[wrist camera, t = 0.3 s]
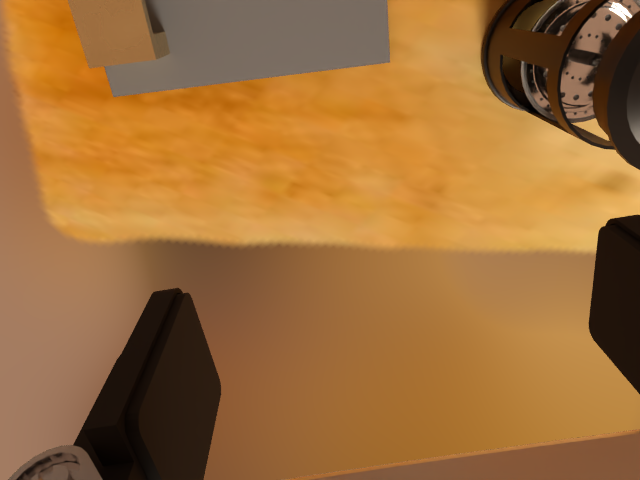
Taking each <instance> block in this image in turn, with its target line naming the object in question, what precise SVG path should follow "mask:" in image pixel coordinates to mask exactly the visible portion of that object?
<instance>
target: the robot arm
mask: <svg viewBox="0 0 640 480" xmlns="http://www.w3.org/2000/svg"><path fill="white" fill-rule="evenodd" d="M589 330H590V333H591V336H592V338H593V339H594V341H595V342H596V343H597V344H598V346H599V347H600V348H601V349H602V350H603V351H604V353H605V354H606V355H607V356H608V357H609V359H611V361H612V362H613V363H614V364H615V366H616V367H617V368H618V369H619V370H620V371H621V373H622V374H623V375H624V376H625V377H626V378H627V380H628V381H629V382H630V383H631V384H632V385H633V387H634V388H635V389H636V390H637V392H638V393H639V394H640V215H632V216H626V217H620V218H613V219H610V220H609V221H608V222H607V223H606V226H604V227H602V228H601V229H600V230H599V234H598V243H597V252H596V261H595V271H594V281H593V290H592V298H591V307H590V317H589ZM220 396H221V385H220V379H219V376H218V373H217V371H216V368H215V365H214V362H213V359H212V356H211V353H210V350H209V347H208V344H207V341H206V338H205V335H204V332H203V330H202V327H201V324H200V321H199V318H198V315H197V312H196V309H195V306H194V303H193V300H192V298H191V296H190V294H189V293H183V292H182V291H181V290H180V289H179V288H175V289H168V290H162V291H156V292H153V294H152V295H151V297H150V299H149V301H148V303H147V305H146V307H145V309H144V311H143V313H142V315H141V317H140V319H139V321H138V322H137V325H136V326H135V328H134V330H133V332H132V334H131V336H130V338H129V340H128V342H127V344H126V346H125V348H124V350H123V352H122V354H121V355H120V356H119V358H118V359H117V361H116V363H115V365H114V367H113V369H112V370H111V373H110V374H109V376H108V378H107V380H106V382H105V384H104V386H103V388H102V390H101V392H100V394H99V396H98V398H97V400H96V402H95V404H94V406H93V408H92V409H91V411H90V413H89V415H88V417H87V419H86V421H85V423H84V425H83V427H82V429H81V431H80V433H79V435H78V437H77V439H76V441H75V443H74V445H66V446H59V447H56V448H52V449H49V450H47V451H45V452H43V453H41V454H39V455H37V456H35V457H33V458H32V459H31V460H30V461H28V462H27V463H25V464H24V465H22V466H21V467H20V468H19V469H18V470H17V471H16V472H15V473H14V474H13V475H12V476H11V477H10V478H9V479H8V480H203V478H204V474H205V469H206V464H207V459H208V455H209V450H210V445H211V440H212V435H213V430H214V425H215V421H216V416H217V411H218V406H219V401H220ZM282 480H640V429H638V430H632V431H623V432H616V433H609V434H601V435H593V436H586V437H579V438H572V439H564V440H556V441H549V442H543V443H535V444H527V445H520V446H513V447H506V448H498V449H492V450H484V451H477V452H470V453H463V454H456V455H448V456H441V457H435V458H427V459H420V460H413V461H406V462H399V463H392V464H385V465H378V466H372V467H364V468H357V469H351V470H344V471H337V472H330V473H324V474H316V475H309V476H303V477H296V478H289V479H282Z"/></svg>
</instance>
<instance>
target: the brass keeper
mask: <svg viewBox="0 0 640 480" xmlns="http://www.w3.org/2000/svg"><path fill="white" fill-rule="evenodd" d="M68 2H69V6H70V9H71V12H72V15H73V18H74V21H75V25H76V28H77V31H78V34H79V37H80V40H81V44H82V47H83V50H84V53H85V56H86V59H87V63H88V66H89V68H95V67H103V66H111V65H119V64H127V63H135V62H143V61H151V60H157V59H159V58H161V57H164V56H166V55H168V54H170V51H169V46H168V42H167V38H166V34H165V32H157V33H153V31H152V27H151V23H150V19H149V15H148V11H147V7H146V3H145V0H68Z"/></svg>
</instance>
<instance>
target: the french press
mask: <svg viewBox="0 0 640 480" xmlns="http://www.w3.org/2000/svg"><path fill="white" fill-rule="evenodd" d="M540 1H543V0H507V1H506V2H505V3H504V5H503V6H502V7H501V8H500V9H499V11H498V12H497V13H496V15H495V17H494V18H493V20H492V22H491V23H490V25H489V28H488V30H487V33H486V35H485V39H484V43H483V48H482V67H483V73H484V77H485V79H486V82H487V84H488V86H489V88H490V89H491V91H492V92H493V94H494V95H495V96H496V97H497V98H498V99H499V100H500V101H502V102H503V103H505V104H507V105H508V106H510V107H512V108H515V109H519V110H522V111H526V112H528V113H530V114H532V115H534V116H536V117H538V118H540V119H542V120H544V121H546V122H548V123H550V124H552V125H554V126H556V127H557V128H559V129H561V130H563V131H565V132H567V133H569V134H571V135H573V136H575V137H577V138H579V139H581V140H583V141H585V142H587V143H588V144H590V145H593V146H596V147H600V148H603V149H614V150H616V152H617V153H618V154H619V155H620V156H621V157H622V158H623V159H624V160H625V161H626V162H627V163H629V164H630V165H632V166H634V167H636V168H637V169H639V170H640V0H559V1H557V2H556V3H555V4H554V5H553V6H551V7H550V8H549V9H548V10H547V11H546V12H545V13H544V14H543V15H542V16H541V17H540V19H539V20H538V21H537V22H536V24H535V25H534V26H533V28H532V29H531V31H526V30H520V29H513V28H512V27H513V25H514V24H515V22H516V20H517V19H518V17H519V16H520V15H521V14H522V12H523V11H524V10H526V9H527V8H528V7H530V6H532V5H533V4H535V3H537V2H540ZM503 56H507V57H510V58H513V59H517V60H520V73H521V79H522V84H523V88H524V91H525V93H526V94H525V93H521V92H520V91H518V90H516V89H515V88H514V87H513V86H512V85H511V84H510V83H509V82H508V80H507V79H506V77H505V75H504V72H503V68H502V64H503ZM594 118H596V119H597V121H598V124H599V126H600V127H601V128H602V129H603V130H604V132H605V133H606V134H607V135H608V137H609V140H610V141H607V140H605V139H603V138H600V137H598V136H596V135H594V134H592V133H590V132H588V131H586V130H584V129H582V128H579V127H577V126H575V125H573V124H571V123H576V122H584V121H587V120H591V119H594Z"/></svg>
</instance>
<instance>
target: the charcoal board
mask: <svg viewBox="0 0 640 480" xmlns="http://www.w3.org/2000/svg"><path fill="white" fill-rule="evenodd" d="M145 3H146V7H147V11H148V15H149V19H150V23H151V27H152V31H153V33H157V32H165V34H166V38H167V42H168V46H169V51H170V54H168V55H166V56H164V57H161V58H159V59H157V60H151V61H143V62H135V63H127V64H119V65H111V66H104V67H105V70H106V74H107V77H108V80H109V84H110V87H111V90H112V94H113V97H117V96H125V95H133V94H141V93H149V92H157V91H165V90H173V89H181V88H189V87H197V86H205V85H213V84H221V83H229V82H237V81H245V80H253V79H261V78H269V77H277V76H285V75H293V74H301V73H309V72H317V71H325V70H333V69H341V68H349V67H357V66H365V65H373V64H381V63H389V62H390V52H389V31H388V9H387V0H145Z"/></svg>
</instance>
